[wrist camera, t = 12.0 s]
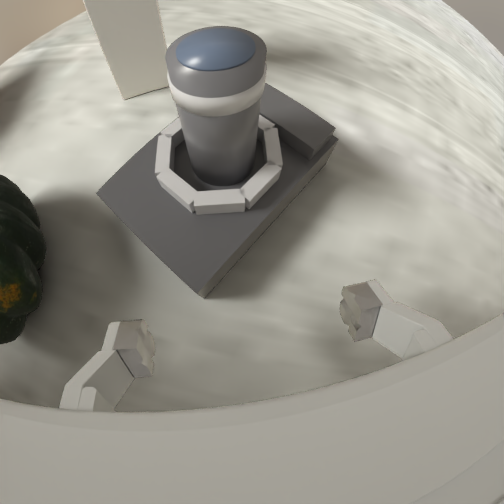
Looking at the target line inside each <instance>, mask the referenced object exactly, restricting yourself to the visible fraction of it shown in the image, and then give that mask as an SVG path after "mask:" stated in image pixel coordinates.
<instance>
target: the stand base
mask: <svg viewBox="0 0 504 504" xmlns="http://www.w3.org/2000/svg"><path fill="white" fill-rule="evenodd" d="M334 130H335V127H334V126H332V125H331V124H329V123H328V122H327V121H325V120H324V119H322V118H321V117H319V116H318V115H316V114H315V113H313V112H312V111H310V110H309V109H307V108H306V107H304V106H303V105H301V104H300V103H298V102H296V101H295V100H293V99H292V98H290V97H288V96H287V95H285V94H284V93H282V92H280V91H279V90H277V89H275V88H273V87H272V86H270V85H268V84H267V83H265V86H264V91H263V94H262V95H261V104H260V113H259V122H258V131H257V140H256V150H255V159H254V165H253V168H252V170H251V172H250V173H249V175H248V176H247V177H246V178H245V179H243V180H242V181H240V182H238V183H236V184H234V185H230V186H213V185H210V184H207V183H205V182H203V181H202V180H200V179H199V178H198V177H197V176H196V174H195V173H194V171H193V168H192V165H191V161H190V157H189V154H188V150H187V146H186V142H185V138H184V135H183V131H182V127H181V123H180V119H179V117H178V118H177V119H175V120H174V121H173V122H172V123H170V124H169V125H168V126H167V127H166V128H164V129H163V130H162V131H161V132H160V133H158V134H157V135H156V136H155V137H154V138H153V139H152V140H150V141H149V142H148V143H147V144H146V145H145V146H144V147H143V148H141V149H140V150H139V151H138V152H137V153H136V154H135V155H134V156H133V157H132V158H131V159H130V160H128V161H127V162H126V163H125V164H124V165H123V166H122V167H121V168H120V169H119V170H118V171H117V172H116V173H115V174H114V175H113V176H112V177H111V178H110V179H109V180H108V181H107V182H106V183H105V184H104V185H103V186H102V187H101V188H100V189H99V191H98V192H97V193H96V194H97V195H98V196H99V197H100V198H101V199H102V200H103V201H104V202H105V204H106V205H107V206H108V207H109V208H110V209H111V210H112V211H113V212H114V213H115V214H116V215H117V216H118V217H119V218H120V219H121V220H122V221H123V223H124V224H125V225H126V226H127V227H128V228H129V229H130V230H131V231H132V232H133V233H134V234H135V235H136V236H137V237H138V238H139V239H140V240H141V241H142V242H143V243H144V244H145V245H146V246H147V247H148V248H149V249H150V250H151V251H152V252H153V253H154V254H155V255H156V256H157V257H158V258H159V259H160V260H161V261H162V262H164V263H165V264H166V265H167V266H168V267H169V268H170V269H171V270H172V271H173V272H174V273H175V274H176V275H177V276H178V277H179V278H180V279H181V280H183V281H184V282H185V283H186V284H187V285H188V286H189V287H190V288H191V289H192V290H193V291H194V292H196V293H197V294H198V295H199V296H201V297H202V298H205V297H206V296H207V295H208V294H209V293H210V292H211V291H212V289H213V288H214V287H215V286H216V285H217V284H218V283H219V282H220V280H221V279H222V278H223V277H224V276H225V275H226V274H227V273H228V272H229V270H230V269H231V268H232V267H233V266H234V265H235V264H236V263H237V262H238V260H239V259H240V258H241V257H242V256H243V255H244V254H245V253H246V251H247V250H248V249H249V248H250V247H251V246H252V245H253V244H254V243H255V241H256V240H257V239H258V238H259V237H260V236H261V235H262V234H263V233H264V231H265V230H266V229H267V228H268V227H269V226H270V225H271V224H272V223H273V221H274V220H275V219H276V218H277V217H278V216H279V215H280V214H281V213H282V211H283V210H284V209H285V208H286V207H287V206H288V205H289V204H290V203H291V201H292V200H293V199H294V198H295V197H296V196H297V195H298V194H299V193H300V191H301V190H302V189H303V188H304V187H305V186H306V185H307V184H308V183H309V182H310V180H311V179H312V178H313V177H314V176H315V175H316V174H317V173H318V172H319V170H320V169H321V168H322V167H323V166H324V165H325V164H326V162H327V160H328V158H329V156H330V154H331V153H332V151H333V149H334V147H335V145H336V143H337V141H338V139H337V138H336V137H335V136H333V132H334Z"/></svg>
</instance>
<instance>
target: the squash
mask: <svg viewBox="0 0 504 504" xmlns="http://www.w3.org/2000/svg"><path fill="white" fill-rule="evenodd" d="M45 255H46V245H45V241H44V238H43V235H42V233H41V231H40V222H39V218H38V215H37V213H36V210H35V208H34V206H33V204H32V203H31V201H30V199H29V198H28V197H27V196H26V195H25V194H24V193H22V191H21V190H20V189H19V187H18V186H17V185H16V184H14V183H13V182H12V181H10V180H9V179H8V178H6V177H5V176H3V175H0V344H4V343H9V342H11V341H14V340H15V339H16V338H17V337H18V336H19V335H20V334H21V332H22V331H23V328H24V326H25V322H26V317H27V314H28V313H30V312H32V311H34V310H36V309H37V308H38V307H39V305H40V302H41V297H42V292H43V288H42V283H41V279H40V276H39V274H38V272H37V270H38V269H40V267H41V265H42V264H43V262H44V260H45Z"/></svg>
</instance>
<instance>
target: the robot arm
mask: <svg viewBox="0 0 504 504" xmlns="http://www.w3.org/2000/svg"><path fill="white" fill-rule="evenodd" d="M342 296H343V300H342V301H341V302H340V315H341V318H342V320H343V322H344V324H346V325H348V326H349V329H348V332H349V333H350V335H351V337H352V339H353V341H354V342H356V341H360V340H364V339H368V338H371V337H372V339H374V340H375V341H377V342H378V343H379V344H381V345H382V346H384V347H385V348H387V349H388V350H390V351H391V352H393V353H394V354H396V355H397V356H398V357H400V358H401V359H402V361H401V362H400V363H397V364H394V365H391V366H389V367H386V368H383V369H380V370H377V371H374V372H371V373H368V374H365V375H362V376H359V377H356V378H353V379H349V380H346V381H342V382H339V383H335V384H332V385H328V386H324V387H321V388H317V389H313V390H309V391H304V392H300V393H296V394H291V395H287V396H282V397H277V398H272V399H266V400H261V401H255V402H249V403H242V404H235V405H228V406H220V407H212V408H202V409H191V410H178V411H159V412H116V411H115V410H114V408H115V407H116V405H117V404H118V402H119V401H120V399H121V398H122V396H123V395H124V393H125V392H126V390H127V389H128V387H129V386H130V384H131V383H132V382H133V380H134V378H139V377H150V376H153V368H154V363H153V361H152V358H153V357H154V355H155V342H154V339H153V336H152V334H151V333H150V332H148V331H147V328H148V325H147V323H146V321H145V320H144V319H140V320H127V321H118V322H111V323H110V324H109V326H108V329H107V332H106V336H105V339H104V343H103V347H102V350H101V351H98V352H97V353H96V354H95V355H94V356H93V357H92V358H91V359H90V360H89V361H88V362H87V363H86V364H85V365H84V366H83V367H82V368H81V369H80V370H79V371H78V372H77V373H76V374H75V375H74V376H73V377H72V378H71V379H70V380H69V381H68V383H67V384H66V385H65V387H64V391H63V394H62V398H61V402H60V406H59V408H53V407H45V406H38V405H32V404H25V403H20V402H14V401H10V400H6V399H0V504H504V313H503V314H501V315H499V316H497V317H495V318H494V319H492V320H490V321H488V322H486V323H485V324H483V325H481V326H479V327H477V328H475V329H473V330H472V331H470V332H468V333H466V334H464V335H462V336H460V337H458V338H456V339H453V337H452V336H451V335H450V333H449V332H448V331H447V329H446V328H445V327H444V325H443V324H442V323H441V322H440V321H438V320H436V319H434V318H432V317H430V316H428V315H425V314H423V313H421V312H419V311H417V310H414V309H412V308H410V307H408V306H406V305H404V304H401V303H399V302H394V301H393V300H392V299H391V297H390V296H389V295H388V294H387V292H386V291H385V290H384V288H383V287H382V286H381V285H380V283H379V282H378V281H377V280H375V279H374V280H370V281H366V282H362V283H358V284H353V285H349V286H344V287H343V289H342Z"/></svg>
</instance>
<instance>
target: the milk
mask: <svg viewBox="0 0 504 504" xmlns="http://www.w3.org/2000/svg"><path fill="white" fill-rule="evenodd" d="M83 2H84V5H85V7H86V10H87V13H88V16H89V18H90V21H91V24H92V26H93V29H94V31H95V34H96V36H97V39H98V41H99V44H100V46H101V49H102V51H103V54H104V56H105V59H106V61H107V64H108V66H109V68H110V71H111V73H112V75H113V78H114V80H115V82H116V85H117V87H118V89H119V92H120V94H121V96H122V98H123V100H125V99H128V98H131V97H134V96H137V95H140V94H144V93H147V92H150V91H154V90H157V89H161V88H164V87H168V86H169V82H168V78H167V72H168V69H167V65H166V60H165V55H166V51H167V46H166V41H165V36H164V31H163V26H162V21H161V16H160V10H159V5H158V0H83Z"/></svg>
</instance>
